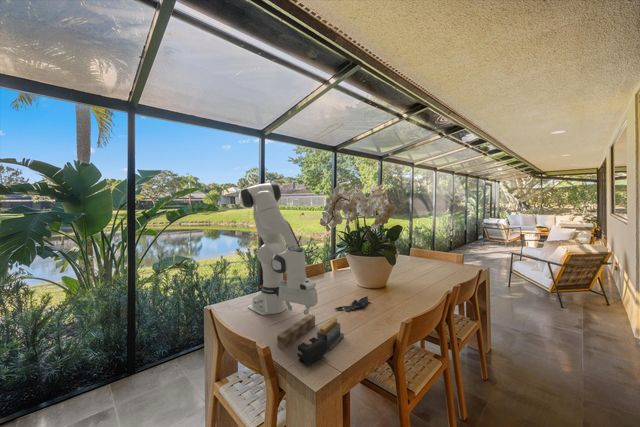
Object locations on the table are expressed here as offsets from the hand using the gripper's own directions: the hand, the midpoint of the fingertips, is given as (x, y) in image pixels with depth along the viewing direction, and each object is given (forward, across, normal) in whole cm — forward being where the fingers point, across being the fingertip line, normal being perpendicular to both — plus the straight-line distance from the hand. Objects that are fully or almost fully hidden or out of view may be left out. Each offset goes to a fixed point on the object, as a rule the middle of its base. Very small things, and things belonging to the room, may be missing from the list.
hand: (297, 312), depth 119 cm
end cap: (+12, +15, -12) cm, 23 cm away
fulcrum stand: (+12, +14, +3) cm, 19 cm away
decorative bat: (+12, +10, +44) cm, 47 cm away
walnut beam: (+11, -1, 0) cm, 11 cm away
